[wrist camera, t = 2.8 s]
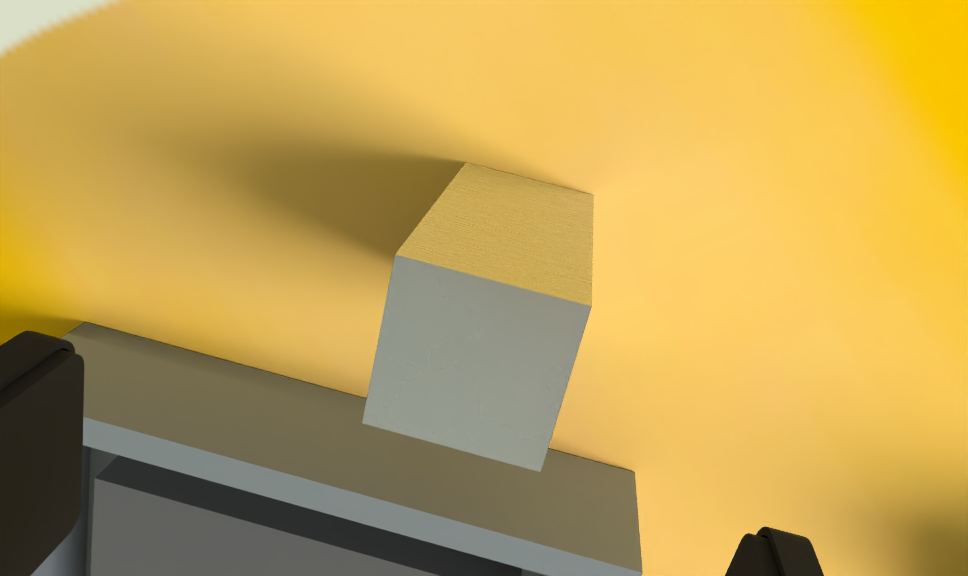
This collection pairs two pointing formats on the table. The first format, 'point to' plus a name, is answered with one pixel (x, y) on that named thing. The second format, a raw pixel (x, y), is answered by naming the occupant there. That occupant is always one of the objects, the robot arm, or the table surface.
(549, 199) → the peg
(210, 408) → the box
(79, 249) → the table surface
